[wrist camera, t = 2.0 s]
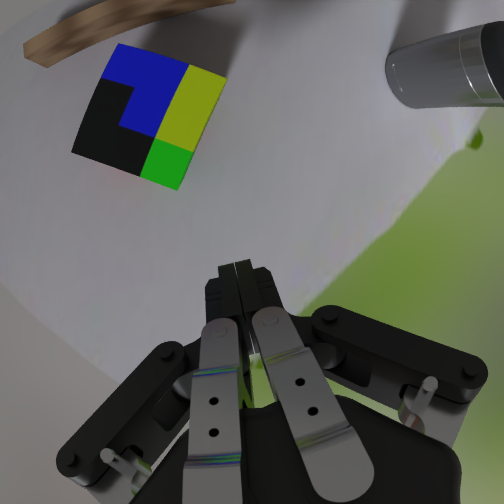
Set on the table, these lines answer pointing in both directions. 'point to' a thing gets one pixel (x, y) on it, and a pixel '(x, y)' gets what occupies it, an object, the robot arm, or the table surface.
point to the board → (104, 25)
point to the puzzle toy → (148, 115)
